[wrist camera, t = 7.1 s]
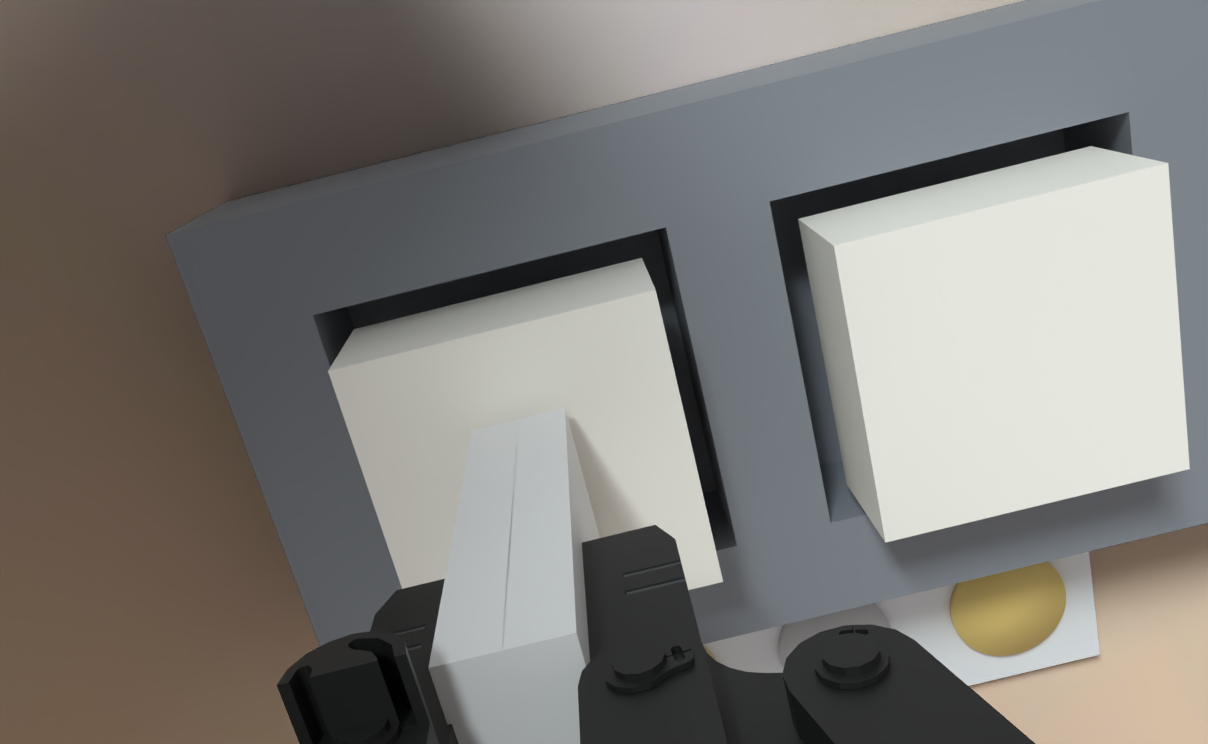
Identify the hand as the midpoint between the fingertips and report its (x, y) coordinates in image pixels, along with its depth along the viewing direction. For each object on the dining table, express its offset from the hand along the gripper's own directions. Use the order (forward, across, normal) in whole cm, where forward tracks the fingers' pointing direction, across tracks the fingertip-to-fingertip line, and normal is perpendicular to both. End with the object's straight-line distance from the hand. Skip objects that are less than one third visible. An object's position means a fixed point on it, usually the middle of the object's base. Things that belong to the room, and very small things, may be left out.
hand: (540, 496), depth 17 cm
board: (+6, +8, 0) cm, 10 cm away
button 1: (+3, 0, 0) cm, 3 cm away
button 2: (+3, +8, 0) cm, 8 cm away
